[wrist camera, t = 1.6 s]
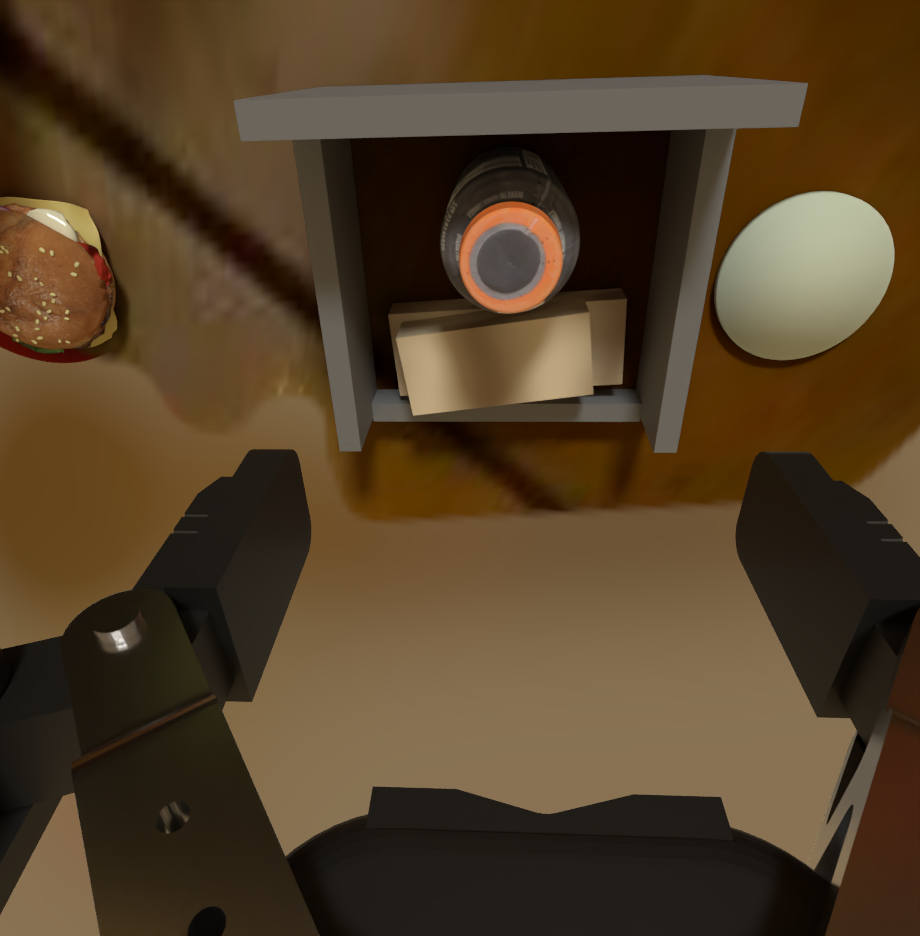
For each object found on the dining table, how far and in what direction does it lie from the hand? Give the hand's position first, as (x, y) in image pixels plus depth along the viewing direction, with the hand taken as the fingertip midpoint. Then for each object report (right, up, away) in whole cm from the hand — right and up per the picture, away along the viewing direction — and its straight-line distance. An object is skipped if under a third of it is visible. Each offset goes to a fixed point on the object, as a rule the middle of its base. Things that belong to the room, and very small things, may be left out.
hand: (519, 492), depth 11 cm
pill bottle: (+1, +14, +22) cm, 27 cm away
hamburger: (-26, +13, +25) cm, 39 cm away
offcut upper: (+1, +7, +24) cm, 25 cm away
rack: (+2, +12, +24) cm, 27 cm away
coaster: (+18, +11, +23) cm, 31 cm away
